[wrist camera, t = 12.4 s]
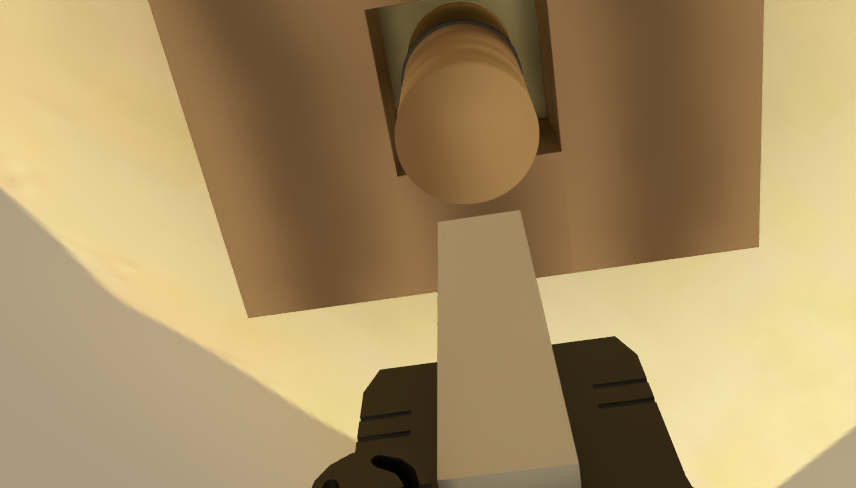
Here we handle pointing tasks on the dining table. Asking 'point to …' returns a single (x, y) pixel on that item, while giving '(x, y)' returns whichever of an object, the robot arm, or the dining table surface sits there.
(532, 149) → the dowel
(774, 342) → the dining table surface
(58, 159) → the dining table surface
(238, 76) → the board
